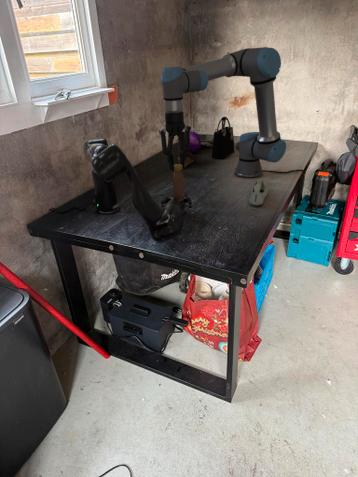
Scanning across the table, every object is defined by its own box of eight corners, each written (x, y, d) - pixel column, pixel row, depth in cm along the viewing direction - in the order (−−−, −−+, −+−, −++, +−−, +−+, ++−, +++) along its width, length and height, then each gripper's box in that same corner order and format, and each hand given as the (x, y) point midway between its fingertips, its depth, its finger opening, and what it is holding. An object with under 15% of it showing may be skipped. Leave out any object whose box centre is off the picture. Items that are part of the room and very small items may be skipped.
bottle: (174, 214, 149) (171, 168, 138) (175, 209, 153) (172, 165, 142) (184, 214, 149) (182, 168, 138) (185, 209, 153) (182, 165, 142)
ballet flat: (269, 188, 169) (270, 173, 165) (265, 208, 149) (266, 191, 145) (252, 187, 171) (253, 172, 167) (246, 206, 151) (247, 190, 147)
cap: (174, 166, 143) (174, 163, 142) (184, 167, 141) (183, 164, 141) (170, 170, 140) (170, 166, 139) (179, 170, 138) (179, 167, 137)
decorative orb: (204, 151, 235) (204, 129, 228) (194, 156, 225) (193, 134, 217) (186, 149, 243) (186, 128, 235) (175, 154, 232) (174, 132, 224)
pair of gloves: (199, 150, 238) (199, 143, 235) (184, 143, 258) (184, 136, 255) (235, 144, 247) (235, 137, 245) (218, 137, 268) (218, 131, 265)
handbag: (222, 159, 215) (223, 120, 203) (210, 158, 220) (210, 119, 207) (235, 151, 230) (236, 114, 218) (223, 150, 234) (224, 113, 222)
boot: (196, 157, 223) (195, 127, 213) (189, 169, 203) (188, 135, 192) (183, 157, 225) (182, 127, 215) (176, 168, 204) (174, 136, 194)
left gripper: (190, 204, 132) (195, 188, 147) (155, 203, 135) (164, 187, 149) (190, 220, 136) (195, 203, 150) (157, 219, 138) (165, 203, 153)
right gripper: (189, 107, 135) (191, 163, 147) (150, 112, 129) (155, 170, 141) (198, 109, 129) (199, 167, 141) (157, 115, 123) (162, 175, 135)
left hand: (179, 195), depth 150 cm, fingers closed on bottle, 4 cm apart
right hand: (177, 168), depth 141 cm, fingers closed on cap, 4 cm apart
